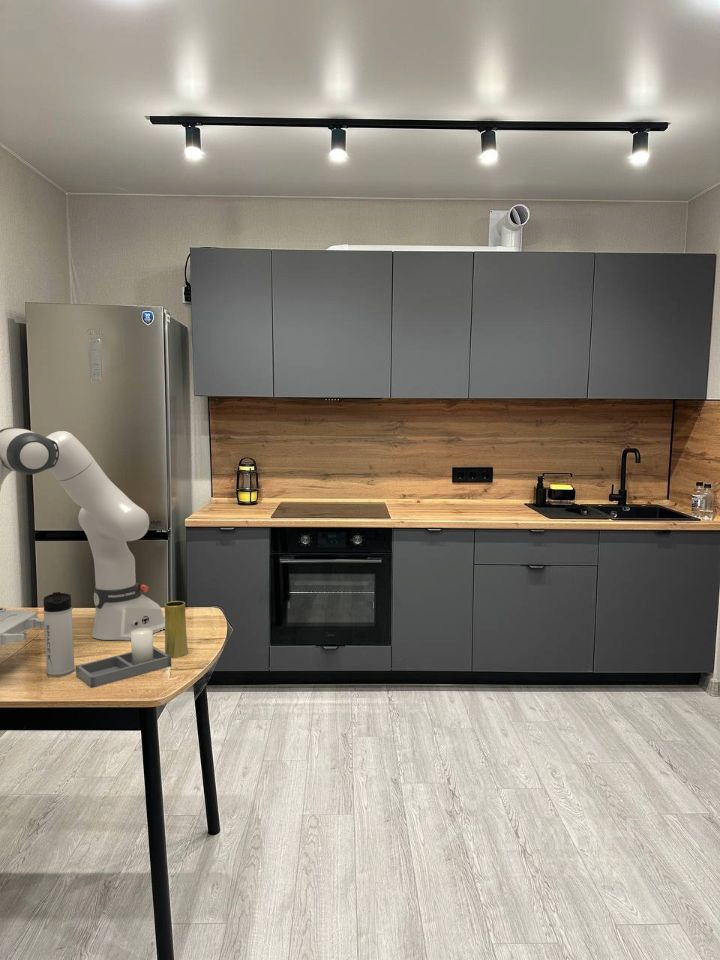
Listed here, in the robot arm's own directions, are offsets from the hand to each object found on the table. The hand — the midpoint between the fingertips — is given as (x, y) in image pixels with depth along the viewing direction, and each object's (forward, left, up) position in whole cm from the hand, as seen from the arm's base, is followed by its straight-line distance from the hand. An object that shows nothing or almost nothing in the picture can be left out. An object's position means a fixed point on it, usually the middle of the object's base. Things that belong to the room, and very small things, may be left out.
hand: (35, 630), depth 164 cm
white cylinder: (-21, +14, -10) cm, 27 cm away
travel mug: (-4, +4, -11) cm, 13 cm away
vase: (-31, +12, -11) cm, 35 cm away
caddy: (-16, +14, -11) cm, 24 cm away
